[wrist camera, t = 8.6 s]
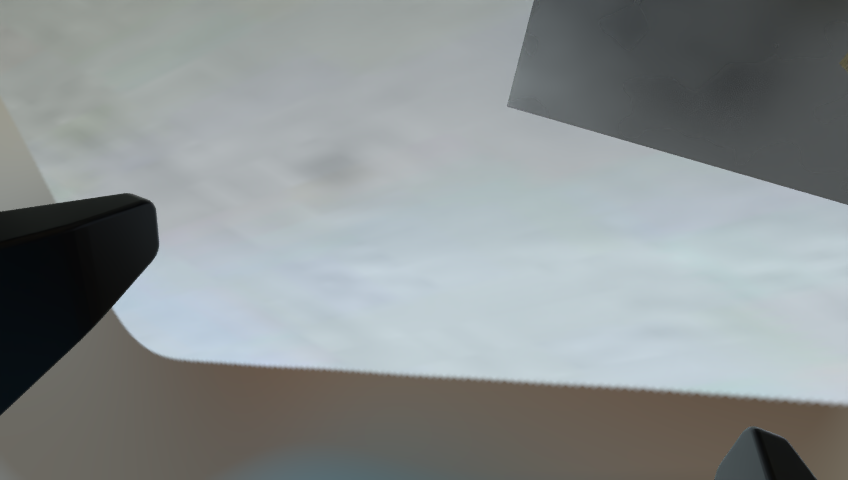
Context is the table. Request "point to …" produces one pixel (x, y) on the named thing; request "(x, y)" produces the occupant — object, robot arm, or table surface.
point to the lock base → (700, 81)
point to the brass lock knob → (844, 62)
